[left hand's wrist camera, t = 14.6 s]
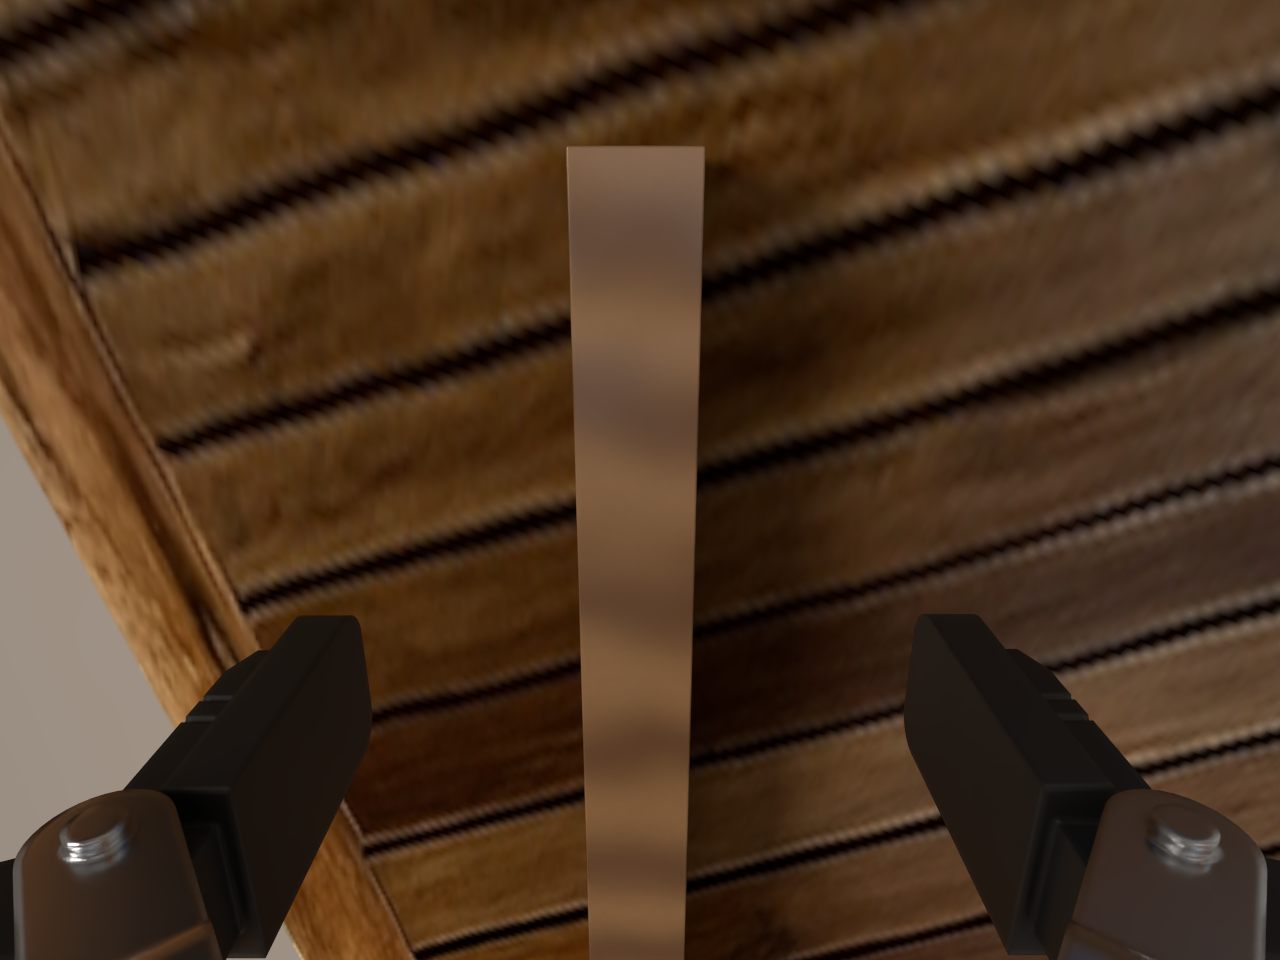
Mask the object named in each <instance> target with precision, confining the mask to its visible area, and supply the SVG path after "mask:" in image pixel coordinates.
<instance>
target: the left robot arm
mask: <svg viewBox="0 0 1280 960" xmlns="http://www.w3.org/2000/svg"><path fill="white" fill-rule="evenodd" d="M904 725H905V733H906V738H907V742H908V746H909V749H910V751H911V754H912V756H913V758H914V760H915V762H916V764H917V766H918V768H919V770H920V772H921V775H922V777H923V779H924V781H925V783H926V785H927V787H928V789H929V791H930V793H931V795H932V797H933V799H934V802H935V804H936V806H937V808H938V810H939V812H940V814H941V816H942V818H943V820H944V822H945V824H946V826H947V829H948V831H949V833H950V835H951V837H952V839H953V841H954V843H955V845H956V847H957V849H958V851H959V853H960V856H961V858H962V860H963V862H964V864H965V866H966V868H967V870H968V872H969V874H970V876H971V878H972V880H973V883H974V885H975V887H976V889H977V891H978V893H979V895H980V897H981V899H982V901H983V903H984V905H985V907H986V910H987V912H988V914H989V916H990V918H991V920H992V922H993V924H994V926H995V928H996V930H997V932H998V934H999V936H1000V939H1001V941H1002V943H1003V945H1004V947H1005V949H1006V951H1007V953H1008V955H1047V956H1048V958H1049V960H1280V861H1278V860H1274V859H1269V858H1265V857H1264V856H1263V854H1262V852H1261V851H1260V849H1259V848H1258V846H1257V845H1256V843H1255V842H1254V841H1253V840H1252V839H1251V838H1250V837H1249V836H1248V834H1246V833H1245V832H1244V831H1243V830H1242V829H1241V828H1240V827H1239V826H1237V825H1236V824H1235V823H1233V822H1232V821H1230V820H1229V819H1228V818H1226V817H1225V816H1223V815H1221V814H1220V813H1218V812H1216V811H1215V810H1213V809H1211V808H1209V807H1207V806H1205V805H1203V804H1201V803H1198V802H1196V801H1194V800H1191V799H1189V798H1186V797H1183V796H1180V795H1176V794H1173V793H1169V792H1164V791H1159V790H1152V789H1151V788H1150V787H1149V785H1148V784H1147V783H1146V782H1145V781H1144V780H1143V778H1142V777H1141V776H1140V775H1139V774H1138V773H1137V771H1136V770H1135V769H1134V768H1133V767H1132V766H1131V764H1130V763H1129V762H1128V761H1127V760H1126V759H1125V757H1124V756H1123V755H1122V754H1121V753H1120V752H1119V750H1118V749H1117V748H1116V747H1115V746H1114V744H1113V743H1112V742H1111V741H1110V740H1109V739H1108V737H1107V736H1106V735H1105V734H1104V733H1103V732H1102V730H1101V729H1100V728H1099V727H1098V726H1097V725H1096V723H1095V722H1094V721H1089V718H1088V714H1087V713H1086V712H1085V711H1084V709H1083V708H1082V707H1081V706H1080V705H1079V704H1078V702H1077V701H1076V700H1072V699H1071V694H1070V693H1069V692H1068V691H1067V689H1066V688H1065V687H1064V686H1063V685H1062V684H1061V682H1060V681H1059V680H1058V679H1057V678H1056V677H1055V675H1054V674H1053V673H1052V672H1051V671H1050V670H1049V669H1048V668H1046V667H1044V666H1043V665H1041V664H1040V663H1038V662H1037V661H1035V660H1033V659H1032V658H1030V657H1029V656H1027V655H1026V654H1024V653H1023V652H1021V651H1019V650H1018V649H1005V648H1004V647H1003V646H1002V644H1001V643H1000V642H999V641H998V639H997V638H996V637H995V636H994V634H993V633H992V632H991V631H990V629H989V628H988V627H987V626H986V624H985V623H984V622H983V621H982V619H981V618H980V617H979V616H977V615H975V614H923V615H921V616H920V617H919V618H918V620H917V622H916V626H915V631H914V638H913V645H912V652H911V660H910V667H909V675H908V682H907V690H906V697H905V705H904ZM371 726H372V707H371V699H370V691H369V684H368V677H367V670H366V662H365V655H364V648H363V640H362V633H361V628H360V624H359V622H358V620H357V618H356V617H354V616H299V617H297V618H296V619H295V620H294V621H293V622H292V624H291V625H290V626H289V627H288V629H287V630H286V631H285V632H284V634H283V635H282V636H281V637H280V638H279V640H278V641H277V642H276V643H275V645H274V646H273V647H272V648H271V650H258V651H257V652H255V653H253V654H252V655H250V656H249V657H247V658H246V659H244V660H242V661H241V662H239V663H238V664H236V665H235V666H233V667H231V668H230V669H228V670H227V671H225V672H224V673H223V675H222V676H221V677H220V678H219V679H218V680H217V681H216V683H215V684H214V685H213V686H212V687H211V688H210V690H209V691H208V692H207V693H206V694H205V695H204V700H203V701H199V702H198V704H197V705H196V706H195V707H194V708H193V709H192V710H191V712H190V713H189V714H188V715H187V716H186V721H185V722H181V723H180V724H179V726H178V727H177V728H176V729H175V730H174V731H173V733H172V734H171V735H170V736H169V737H168V738H167V740H166V741H165V742H164V743H163V744H162V745H161V746H160V748H159V749H158V750H157V751H156V752H155V753H154V755H153V756H152V757H151V758H150V759H149V760H148V762H147V763H146V764H145V765H144V766H143V767H142V769H141V770H140V771H139V772H138V773H137V774H136V776H135V777H134V778H133V779H132V780H131V781H130V782H129V784H128V785H127V786H126V787H125V788H124V789H123V790H122V791H116V792H112V793H107V794H104V795H100V796H97V797H94V798H91V799H89V800H86V801H84V802H82V803H79V804H77V805H75V806H73V807H71V808H69V809H67V810H65V811H64V812H62V813H60V814H59V815H57V816H55V817H54V818H52V819H51V820H50V821H48V822H47V823H45V824H44V825H43V826H41V827H40V828H39V829H38V830H37V831H36V832H35V833H34V834H32V836H31V837H30V838H29V839H28V840H27V841H26V842H25V844H24V845H23V846H22V848H21V849H20V851H19V852H18V854H17V856H16V858H14V859H11V860H7V861H3V862H0V960H226V959H227V958H266V956H267V954H268V952H269V950H270V948H271V946H272V944H273V942H274V940H275V938H276V936H277V933H278V932H279V929H280V927H281V925H282V923H283V921H284V919H285V917H286V915H287V913H288V911H289V909H290V907H291V905H292V903H293V901H294V899H295V897H296V895H297V893H298V891H299V888H300V886H301V884H302V882H303V880H304V878H305V876H306V874H307V872H308V870H309V868H310V866H311V864H312V862H313V860H314V858H315V856H316V854H317V852H318V849H319V847H320V845H321V843H322V841H323V839H324V837H325V835H326V833H327V831H328V829H329V827H330V825H331V823H332V821H333V819H334V817H335V815H336V813H337V811H338V808H339V806H340V804H341V802H342V800H343V798H344V796H345V794H346V792H347V790H348V788H349V786H350V784H351V782H352V780H353V778H354V776H355V774H356V772H357V770H358V767H359V765H360V763H361V761H362V759H363V757H364V755H365V753H366V750H367V747H368V744H369V739H370V734H371Z"/></svg>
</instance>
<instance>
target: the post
mask: <svg viewBox="0 0 1280 960" xmlns="http://www.w3.org/2000/svg"><path fill="white" fill-rule="evenodd" d="M705 150H706V148H705V146H567V147H566V169H567V204H568V238H569V272H570V306H571V340H572V375H573V409H574V443H575V477H576V511H577V545H578V580H579V614H580V648H581V682H582V716H583V751H584V785H585V819H586V853H587V887H588V922H589V956H590V960H684V955H685V917H686V879H687V840H688V802H689V764H690V725H691V687H692V649H693V610H694V572H695V534H696V495H697V457H698V419H699V380H700V342H701V304H702V265H703V227H704V189H705Z"/></svg>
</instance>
